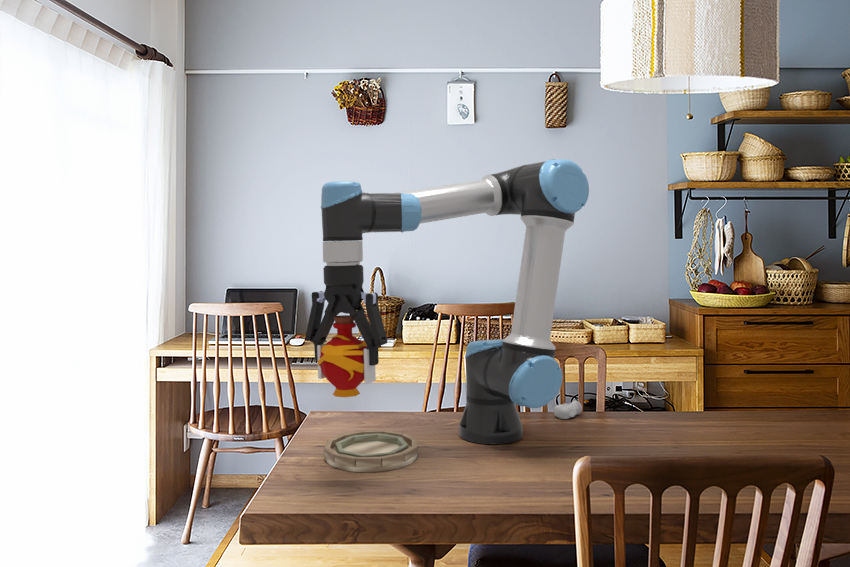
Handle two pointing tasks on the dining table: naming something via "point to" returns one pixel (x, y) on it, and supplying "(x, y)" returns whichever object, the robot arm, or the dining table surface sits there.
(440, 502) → the dining table surface
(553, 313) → the robot arm
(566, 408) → the pale two-lobed sculpture
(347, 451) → the tray
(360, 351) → the potion bottle
